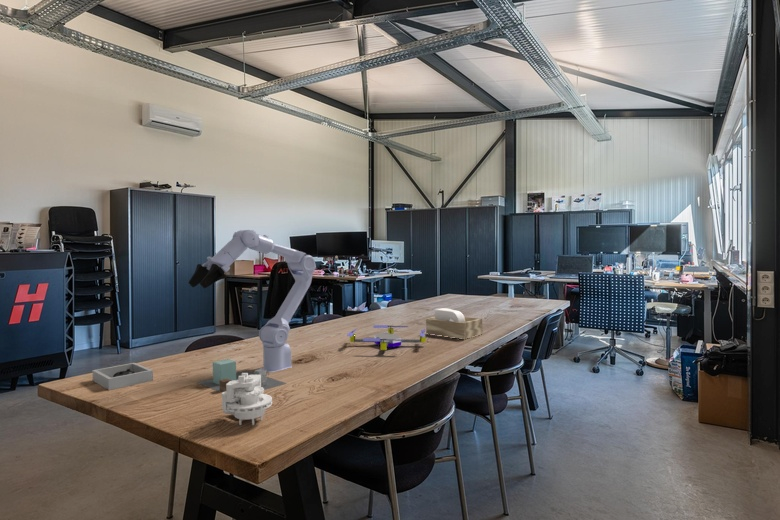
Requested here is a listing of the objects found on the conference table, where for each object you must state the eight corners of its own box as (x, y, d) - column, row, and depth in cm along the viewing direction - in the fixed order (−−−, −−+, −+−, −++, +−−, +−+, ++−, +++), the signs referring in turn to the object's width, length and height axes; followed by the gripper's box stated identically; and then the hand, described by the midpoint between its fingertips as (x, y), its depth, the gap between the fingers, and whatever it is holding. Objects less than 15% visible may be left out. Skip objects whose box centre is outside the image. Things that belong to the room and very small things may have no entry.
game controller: (112, 376, 152) (126, 362, 154) (125, 386, 154) (139, 372, 155) (105, 384, 143) (120, 369, 145) (119, 394, 145) (134, 379, 146)
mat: (246, 372, 158) (246, 370, 158) (287, 385, 142) (287, 383, 142) (196, 384, 145) (196, 382, 145) (235, 399, 129) (235, 397, 129)
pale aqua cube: (228, 378, 148) (227, 358, 148) (236, 381, 145) (235, 361, 144) (213, 382, 144) (212, 362, 144) (221, 385, 141) (220, 364, 141)
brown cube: (227, 388, 138) (227, 378, 138) (231, 389, 136) (231, 380, 136) (219, 390, 136) (219, 380, 136) (223, 391, 134) (223, 382, 134)
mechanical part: (253, 432, 106) (252, 383, 105) (213, 425, 110) (212, 378, 110) (281, 415, 116) (281, 370, 116) (244, 410, 120) (243, 366, 120)
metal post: (262, 384, 141) (261, 368, 141) (266, 385, 140) (266, 370, 140) (254, 386, 140) (254, 370, 139) (259, 387, 138) (259, 371, 138)
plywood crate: (445, 329, 236) (445, 314, 236) (482, 334, 222) (482, 318, 221) (426, 334, 223) (426, 318, 223) (464, 340, 209) (464, 323, 209)
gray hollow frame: (135, 372, 159) (134, 362, 159) (153, 380, 149) (152, 370, 149) (92, 380, 149) (92, 370, 149) (109, 390, 139) (108, 379, 139)
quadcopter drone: (357, 334, 217) (357, 324, 216) (426, 335, 213) (426, 325, 213) (342, 350, 183) (342, 338, 183) (424, 352, 180) (424, 340, 179)
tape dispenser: (434, 334, 225) (434, 309, 225) (448, 331, 232) (448, 307, 232) (459, 338, 213) (458, 312, 213) (473, 335, 220) (473, 310, 220)
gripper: (208, 247, 149) (177, 275, 142) (230, 247, 140) (198, 277, 132) (221, 262, 153) (192, 291, 145) (244, 263, 143) (214, 293, 136)
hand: (196, 285), depth 139 cm, fingers open, 7 cm apart
